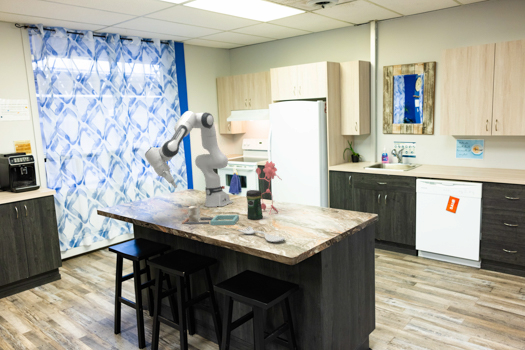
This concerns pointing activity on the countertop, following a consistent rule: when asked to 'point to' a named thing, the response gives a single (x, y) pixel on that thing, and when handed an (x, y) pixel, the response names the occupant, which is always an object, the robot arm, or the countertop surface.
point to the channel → (198, 222)
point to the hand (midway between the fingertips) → (176, 187)
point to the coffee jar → (254, 204)
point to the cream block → (194, 213)
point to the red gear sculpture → (269, 173)
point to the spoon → (267, 236)
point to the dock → (224, 222)
